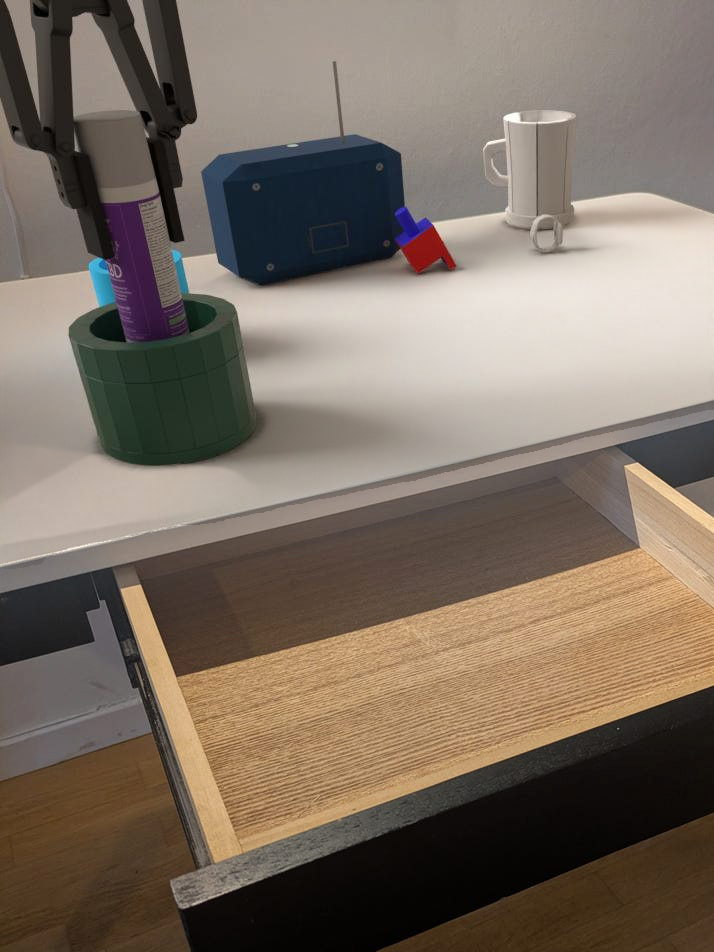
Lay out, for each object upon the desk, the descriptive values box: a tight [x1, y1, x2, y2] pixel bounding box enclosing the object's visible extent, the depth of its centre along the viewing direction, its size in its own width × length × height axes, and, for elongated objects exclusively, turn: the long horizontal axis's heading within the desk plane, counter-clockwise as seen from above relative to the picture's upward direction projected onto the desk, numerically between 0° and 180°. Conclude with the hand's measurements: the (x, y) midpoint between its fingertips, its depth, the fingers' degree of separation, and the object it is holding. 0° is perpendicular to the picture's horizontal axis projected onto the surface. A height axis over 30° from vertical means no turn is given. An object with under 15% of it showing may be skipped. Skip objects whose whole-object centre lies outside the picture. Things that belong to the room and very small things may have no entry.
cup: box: [482, 109, 577, 231], centre depth 121 cm, size 10×9×12 cm
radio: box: [200, 60, 406, 286], centre depth 107 cm, size 21×9×20 cm, turn 123°
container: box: [73, 109, 189, 343], centre depth 69 cm, size 5×5×15 cm
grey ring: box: [529, 215, 564, 254], centre depth 113 cm, size 4×2×4 cm, turn 103°
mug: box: [88, 249, 190, 308], centre depth 92 cm, size 12×8×8 cm
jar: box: [68, 292, 258, 467], centre depth 76 cm, size 12×12×9 cm
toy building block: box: [395, 206, 457, 275], centre depth 109 cm, size 4×4×8 cm
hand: (136, 245), depth 70 cm, fingers closed on container, 5 cm apart
